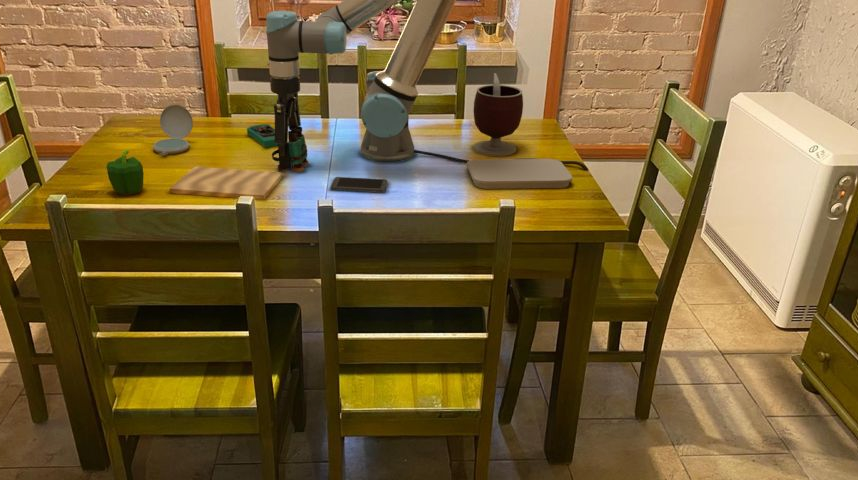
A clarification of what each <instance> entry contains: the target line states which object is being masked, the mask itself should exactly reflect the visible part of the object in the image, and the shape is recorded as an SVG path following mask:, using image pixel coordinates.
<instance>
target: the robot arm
mask: <svg viewBox="0 0 858 480" xmlns="http://www.w3.org/2000/svg"><path fill="white" fill-rule="evenodd" d="M400 1H401V0H342V1H340V2H339V3H338V4H336V5H334V6H333V7H331V8H330V9H328V10H326V11H323V12H321V13H320V14H319V15H318V16H317V18H316V19H315V20H314V21H313V20H299V19H298V16H297V13H296V12H294V11H291V10H275V11H274V10H273V11H269V12H268V13H267V15H266V16H265V17H266V18H265V19H266V31H265V33H266V40H267V42H266V43H267V55H268V61H267V63H266V65H267V66H268V67H269V75H270V77H269V87H270V91H271V93H273V94H276V95H277V99H276V103H274V104H273V111H274V129H275V141H274V143H276V144H278V146H277V150H278V153H277V155H278V158H279V161H278V165H279V167H288V168H289V167H290V156H289V143H287V140H288V142H289V141H290V137H289V134H296V132H295V131H294V129H295V128H296V127H302V121H301V116H300V107H299V98H298V97H299V92H300V91H301V77H300V76H299V75H300V74H301V73H300V71H301V70H300V57H299V54H300V53H301V54H327V55H334V54H336V55H337V54H339V55H340V54H343V53H345V52H346V48H347V36H348V35H349V34H351V32H353V31H354V30H356V29H358V28H359V27H360V26H362V25H364V24H366V23H367V22H368V21H370V20H372V19H373V18H375V17H376V16H378V15H380V14H381V13H383V12H384V11H386V10H387V9H389V8H391V7H392V6H394V5H395V4H397V3H399V2H400ZM457 1H458V0H416V1H415V4H414V6H413V8H412V10H411V12H410V14H409V16H408V19H407V21H406V23H405V25H404V27H403V30H402V31H401V34H400V36H399V38H398V41H397V42H396V45H395V48H394V50H393V51H392V54H391V56H390V59H389V60H388V62H387V65H386V67H385V68H384V70H377V71H370V72H368V73H367V75H366V80H365V84H366V94H365V97H364V100H363V103H362V104H361V108H360V119H361V121H362V124H363V127H364V128H365V132H364V135H363V139H362V140H361V141H362V142H361V144H360V155H361V157H363V158H365V159H366V160H369V161H372V162H378V163H399V162H404V161H408V160H410V159H411V158H413V157H414V156H415V154H418V155H424V156H430V157H437V158H441V159H445V160H450V161H452V162H456V163H457V162H458V163H464V164H467V162H468V161H470V160H471V159H463V158H458V157H453V156H449V155H446V154H441V153H435V152H429V151H425V150H418V149H415V145H414V142H413V137H412V135H411V132H410V127H409V121H410V118H409V115H410V112H411V109H412V108H413V106H414V103H415V101H416V99H417V97H418V95H419V92H418V90H417V83H418V82H419V79H420V77H421V76H422V73H423V71H424V69H425V67H426V64H427V62H428V61H429V58H430V56H431V55H432V52H433V50H434V49H435V46H436V44H437V42H438V40H439V38H440V35H441V33H442V32H443V30H444V28H445V25H446V23H447V21H448V19H449V17H450V15H451V13H452V10H453V9H454V7H455V5H456V3H457ZM516 159H538V158H536V157H535V158H534V157H532V158H531V157H523V158H522V157H521V158H520V157H519V158H518V157H517V158H516ZM559 161H560V162H562V163H563V165H577V166H579V167H581V168H582V169H583V170H585V171H589V168H588V167H587V165H585V164H584V163H582V162H580V161H576V160H559Z"/></svg>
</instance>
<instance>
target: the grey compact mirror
mask: <svg viewBox="0 0 858 480" xmlns="http://www.w3.org/2000/svg"><path fill="white" fill-rule="evenodd" d="M159 124H160V128H161V130H162V132H163V133H164V134H165V135H166V136H168V137H169V138H165V139H160V140H157V141H156V142H154V143H153V146H152V149H153V151H154V152H156V153H158V154H159V156H166V155H176V154H181V153H184V152H186V151H187V150H189V149H190V146H191V145H190V143H189V142H188V140H186V139H184V138H186V137H187V136H189V135H190V133H191V132H192V130H193V128H194V127H193V126H194V120H193V117H192V114H191V112H190V111H189V110H188V109H187V108H186V107H184V106H183V105H181V104H170V105H168V106H166V107H165V108H164V109H163V110H162V111H161V114H160V116H159Z"/></svg>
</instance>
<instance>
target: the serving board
mask: <svg viewBox="0 0 858 480" xmlns="http://www.w3.org/2000/svg"><path fill="white" fill-rule="evenodd" d="M283 177H284V174H283V172H281V171H279V172H278V171H268V170H267V171H265V170H254V169H252V170H251V169H240V168H239V169H235V168H226V167H225V168H224V167H223V168H222V167H208V166H196V165H195V166H193V168H191V169H189V171H188V172H187V173H186V174H184V175H183V176H182V177H181V178H180V179H178V180H177V181H176V182H175V183H174V184H173V185H172V186H171V187H170V188H169V194H176V195H177V194H178V195H192V196H207V197H218V198H219V197H220V198H233V199H239V198H238V197H240V196H253V197H254V198H255V199H254V200H259V201H264V200H265V199H266V198H267V197H268V196H269V195H270V193H271V192H272V191H273V189H274V188H275V187H276V186H277V185H278V184H279V182H280V181H281V179H282V178H283Z"/></svg>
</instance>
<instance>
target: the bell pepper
mask: <svg viewBox="0 0 858 480" xmlns="http://www.w3.org/2000/svg"><path fill="white" fill-rule="evenodd" d="M129 153H130V151H129V150H128V149H124V150H123V151H122V154H121V156H120V157H118V158H117V159H115V160H112V161H108V162H107V164H106V173H107V176H108V180H109V182H110V185H111V187H112V188H113V190H114V192H115V193H117V194H118V195H128V194H129V195H136V194H138V193H140V192H141V191H142V190H143V188H144V175H145V174H144V173H145V172H144V168H143V164H142V163H141V161H139V160H138V159H137V158H136V157H135V156H132V157H128V158H127V155H129Z"/></svg>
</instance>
